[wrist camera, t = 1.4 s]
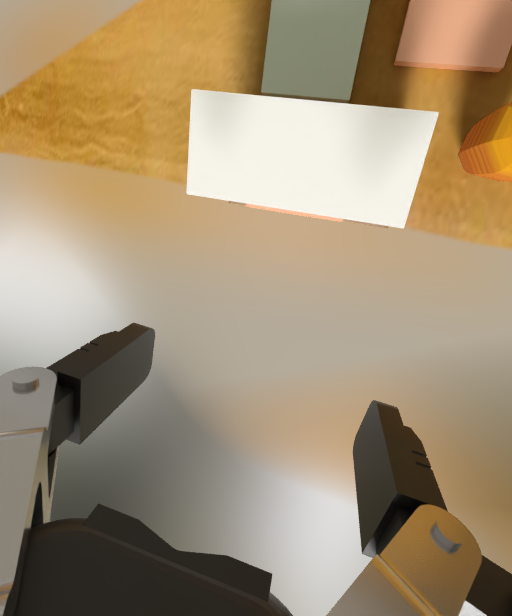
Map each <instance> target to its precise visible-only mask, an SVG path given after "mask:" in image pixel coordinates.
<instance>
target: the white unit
mask: <svg viewBox="0 0 512 616" xmlns="http://www.w3.org/2000/svg"><path fill="white" fill-rule="evenodd" d="M438 114H439V112H432V111H421V110H410V109H400V108H389V107H378V106H367V105H357V104H346V103H335V102H324V101H314V100H303V99H292V98H282V97H271V96H260V95H249V94H239V93H228V92H217V91H206V90H196V89H192V93H191V114H190V134H189V155H188V176H187V194H190V195H196V196H203V197H209V198H215V199H221V200H228V201H229V203H234V204H241V205H246V206H247V207H252V208H258V209H264V210H271V211H277V212H283V213H289V214H295V215H301V216H308V217H314V218H320V219H326V220H333V221H339V222H342V221H347V222H353V223H359V224H365V225H371V226H378V227H384V228H388V226H391V227H397V228H404V226H405V223H406V219H407V216H408V213H409V209H410V206H411V203H412V200H413V196H414V193H415V190H416V186H417V183H418V180H419V177H420V173H421V170H422V167H423V163H424V160H425V157H426V154H427V150H428V147H429V144H430V140H431V137H432V134H433V131H434V127H435V124H436V121H437V117H438Z"/></svg>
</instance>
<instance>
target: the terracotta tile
mask: <svg viewBox="0 0 512 616" xmlns="http://www.w3.org/2000/svg"><path fill="white" fill-rule="evenodd" d="M511 45H512V0H410V1H409V5H408V9H407V13H406V17H405V21H404V25H403V29H402V33H401V38H400V42H399V46H398V50H397V54H396V58H395V62H394V65H396V66H410V67H425V68H439V69H453V70H468V71H482V72H496V73H498V72H499V71H500V70H501V69H503V68H504V65H505V62H506V59H507V56H508V54H509V51H510V48H511Z"/></svg>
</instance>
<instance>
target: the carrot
mask: <svg viewBox="0 0 512 616" xmlns="http://www.w3.org/2000/svg"><path fill="white" fill-rule="evenodd" d="M458 156H459V158H460V161H461V163H462V166H463V168H464V170H465V171H466V172H468V173H471V174H474V175H478V176H481V177H485V178H489V179H493V180H497V181H512V102H510V103H508V104H507V105H505V106H503V107H501V108H499V109H498V110H496V111H494V112H493V113H491V114H489V115H488V116H486V117H485V118H483V119H482V120H480V121H479V122H477V123H476V124H475V125H474V127H473V128H472V129H471V130H470V132H469V133H468V134H467V136H466V138H465V140H464V143H463V145H462V147H461V149H460V151H459V153H458Z"/></svg>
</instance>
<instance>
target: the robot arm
mask: <svg viewBox="0 0 512 616" xmlns="http://www.w3.org/2000/svg"><path fill="white" fill-rule="evenodd" d="M154 340H155V331H154V329H152V328H149V327H146V326H143V325H140V324H136V323H132V324H130V325H129V326H127V327H125V328H124V329H122V330H121V331H119V332H117V331H114V332H110V333H107V334H103V335H100V336H99V337H97V338H95V339H94V340H92V341H90V343H87V344H86V345H84V346H82V347H81V348H80V349H77V350H76V351H74V352H72V353H71V354H69V355H67V356H66V357H64V358H63V359H61V360H59V361H57V362H56V363H54V364H53V365H51V366H49V367H47V368H42V367H24V368H19V369H15V370H12V371H9V372H7V373H5V374H3V375H1V376H0V616H293V615H292V614H291V613H290V611H289V610H288V609H287V608H286V607H285V606H284V605H283V604H282V603H281V602H280V601H279V600H278V599H277V598H276V597H275V596H274V595H273V594H271V593H270V586H271V579H272V574H271V573H269V572H266V571H264V570H261V569H259V568H257V567H254V566H252V565H249V564H247V563H244V562H241V561H239V560H237V559H234V558H232V557H229V556H225V555H215V554H205V553H195V552H184V551H178V550H176V549H174V548H172V547H171V546H170V545H169V544H168V543H166V542H165V541H164V540H163V539H161V538H160V537H159V536H158V535H157V534H155V533H154V532H153V531H152V530H151V529H149V528H148V527H147V526H146V525H144V524H143V523H142V522H141V521H140V520H138V519H135V518H133V517H130V516H128V515H126V514H123V513H121V512H118V511H116V510H113V509H111V508H108V507H106V506H103V505H101V504H98V505H97V506H96V507H95V509H94V510H93V512H92V513H91V514H90V515H89V517H88V518H68V519H60V520H55V521H52V522H50V511H51V503H52V496H53V488H54V481H55V473H56V465H57V458H58V446H59V445H60V444H61V443H62V442H63V441H64V440H66V439H67V440H69V441H72V442H74V443H77V444H81V443H82V442H83V441H84V440H85V439H86V438H87V437H88V436H89V435H90V434H91V433H92V432H93V431H94V430H95V429H96V428H97V427H98V426H99V425H100V424H101V423H102V422H103V421H104V420H105V419H106V418H107V417H108V416H109V415H110V414H111V413H112V412H113V411H114V410H115V409H116V408H117V407H118V406H119V405H120V404H121V403H122V402H123V401H124V400H125V399H126V398H127V397H128V396H129V395H130V394H131V393H132V392H133V391H134V390H135V389H136V388H138V387H139V385H140V384H142V383H143V381H144V380H145V379H146V377H147V376H148V374H149V372H150V369H151V365H152V356H153V348H154ZM426 456H427V455H426V452H425V450H424V447H423V444H422V442H421V440H420V439H419V438H418V437H417V435H416V434H415V433H414V432H413V430H412V429H411V428H409V427H406V426H403V422H402V420H401V417H400V413H399V410H398V408H397V407H394V406H391V405H388V404H385V403H382V402H378V401H374V400H373V401H372V402H371V404H370V406H369V408H368V410H367V412H366V414H365V417H364V419H363V421H362V423H361V425H360V428H359V430H358V432H357V435H356V437H355V441H354V446H353V459H354V469H355V481H356V492H357V503H358V513H359V524H360V534H361V535H360V536H361V546H362V554H364V555H366V556H369V557H372V558H373V559H372V560H371V561H370V563H369V564H368V565H367V566H366V568H365V569H364V570H363V571H362V573H361V574H360V575H359V576H358V577H357V579H356V580H355V581H354V582H353V584H352V585H351V586H350V587H349V588H348V590H347V591H346V592H345V593H344V595H343V596H342V597H341V598H340V600H339V601H338V602H337V603H336V604H335V606H334V607H333V608H332V609H331V611H330V612H329V613H328V614H327V615H326V616H512V574H511V573H509V572H507V571H506V570H504V569H503V568H501V567H500V566H498V565H496V564H495V563H493V562H492V561H490V560H489V559H487V558H486V557H484V556H483V555H482V554H481V550H480V548H479V545H478V543H477V542H476V539H475V538H474V536H473V535H472V534H471V532H470V531H469V530H468V529H467V527H466V526H465V525H464V524H463V523H462V522H461V521H460V520H458V519H457V518H456V517H455V516H453V515H452V514H450V513H449V512H448V511H447V508H446V506H445V503H444V500H443V498H442V495H441V492H440V490H439V487H438V484H437V482H436V479H435V476H434V474H433V471H432V470H431V466H430V463H429V461H428V458H426Z"/></svg>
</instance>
